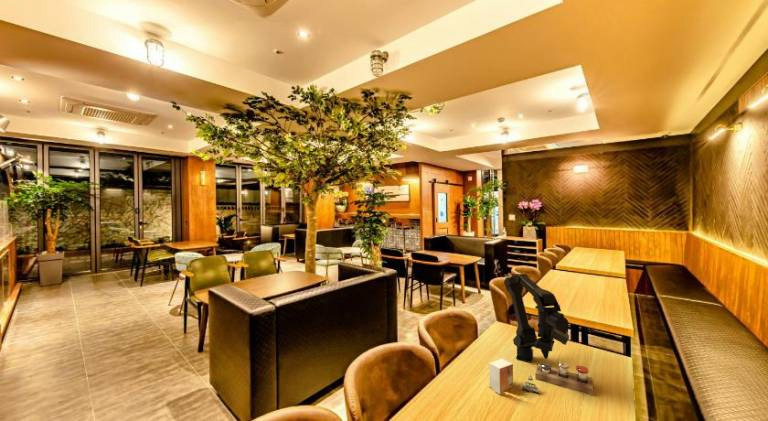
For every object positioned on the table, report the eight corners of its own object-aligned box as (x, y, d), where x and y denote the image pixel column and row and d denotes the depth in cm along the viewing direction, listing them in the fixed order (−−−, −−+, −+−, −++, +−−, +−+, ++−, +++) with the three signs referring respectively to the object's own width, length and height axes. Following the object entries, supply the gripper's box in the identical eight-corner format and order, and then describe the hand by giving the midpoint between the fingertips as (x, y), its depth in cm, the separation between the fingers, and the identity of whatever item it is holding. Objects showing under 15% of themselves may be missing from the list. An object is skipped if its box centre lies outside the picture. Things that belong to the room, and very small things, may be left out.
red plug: (576, 382, 120) (576, 368, 120) (576, 378, 123) (576, 364, 123) (588, 386, 118) (588, 371, 117) (588, 381, 121) (588, 367, 121)
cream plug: (557, 377, 124) (557, 364, 123) (558, 373, 127) (558, 360, 127) (568, 380, 121) (568, 366, 121) (569, 376, 125) (569, 362, 124)
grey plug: (540, 378, 127) (540, 365, 127) (541, 374, 131) (541, 361, 130) (550, 381, 125) (550, 368, 125) (551, 377, 128) (551, 364, 128)
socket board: (535, 382, 126) (535, 373, 126) (538, 372, 133) (538, 363, 133) (592, 399, 115) (592, 388, 115) (592, 387, 122) (592, 377, 122)
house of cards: (545, 389, 122) (544, 370, 122) (545, 401, 114) (545, 381, 114) (520, 383, 126) (520, 365, 126) (520, 395, 118) (519, 375, 118)
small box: (499, 395, 118) (499, 368, 118) (488, 387, 123) (488, 362, 123) (513, 389, 121) (513, 363, 121) (502, 382, 126) (502, 357, 126)
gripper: (566, 333, 115) (566, 373, 115) (568, 319, 131) (569, 354, 131) (534, 327, 122) (534, 365, 122) (540, 314, 137) (541, 348, 137)
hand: (546, 358), depth 128 cm, fingers closed
